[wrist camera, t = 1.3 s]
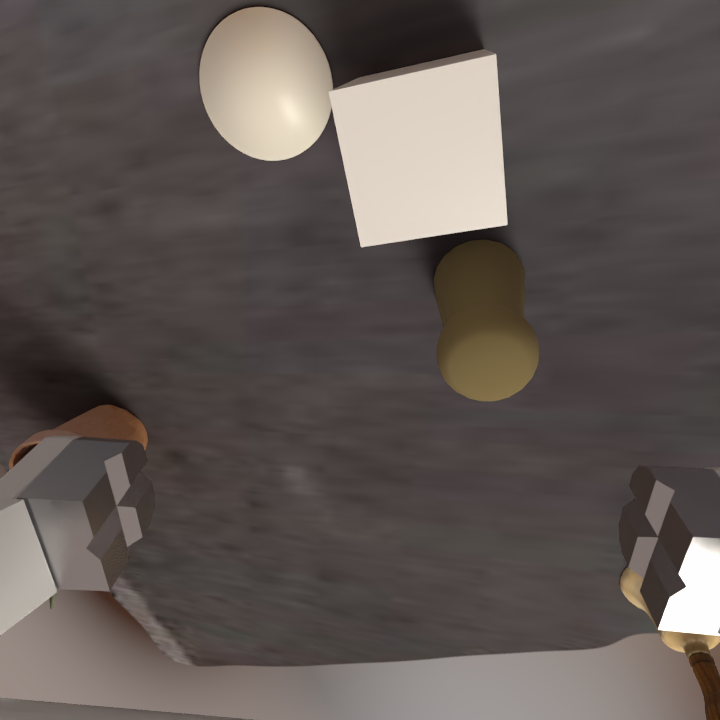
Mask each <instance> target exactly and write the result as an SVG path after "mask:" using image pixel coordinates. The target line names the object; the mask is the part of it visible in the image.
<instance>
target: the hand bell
mask: <svg viewBox="0 0 720 720" xmlns="http://www.w3.org/2000/svg"><path fill="white" fill-rule="evenodd" d="M642 582H643V578H642V577H640V576H639V575H638V574H637V573H635V572H634V571H633V570H632V569H630V568H629V567H627V568H626V569H625V570H624V571H623V573H622V576H621V579H620V587H621V590H622V592H623V594H624V595H625V597H626V598H627V599H628V600H629V601H630V602H631V603H633V604H634V605H635V606H637V607H638V608H640V609H642V610H644V611H646V613H647V614H648V615H649V616H650V618H651V619H652V621H653V623H654V624H655V622H654V620H653V618H652V616H651V614H650V612H649V610H648V607H647V605H646V603H645V601H644V599H643V597H642V595H641V593H640V589H641V586H642ZM655 626H656V624H655ZM656 628H657V626H656ZM657 630H658V628H657ZM658 632H659V634H660V636H661V638H662V640H663V642H664V643H665V644H666V645H667V646H669V647H670V648H672V649H674V650H677V651H680V652H685V653H686V655H687V658H688V659H689V662H690V665H691V666H692V668H693V671H694V673H695V676H696V678H697V680H698V682H699V684H700V687H701V690H702V692H703V696H704V701H705V713H706V719H707V720H720V676H719V673H718V670H717V668H716V666H715V662H714V659H713V658H712V657H711V654H710V651H709V649H712V648H713V647H715V646H716V645H717V644H718V643H719V642H720V639H719V637H720V636H719V635H709V634H699V633H688V632H678V631H668V630H658Z"/></svg>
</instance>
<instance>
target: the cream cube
mask: <svg viewBox="0 0 720 720" xmlns="http://www.w3.org/2000/svg"><path fill="white" fill-rule="evenodd" d="M329 96H330V101H331V106H332V111H333V116H334V120H335V125H336V130H337V135H338V139H339V144H340V149H341V154H342V159H343V163H344V168H345V173H346V178H347V182H348V187H349V192H350V197H351V202H352V206H353V211H354V216H355V221H356V225H357V230H358V235H359V240H360V245H361V247H366V246H373V245H379V244H386V243H392V242H399V241H406V240H412V239H419V238H425V237H432V236H439V235H445V234H452V233H458V232H465V231H472V230H478V229H485V228H491V227H498V226H504V225H507V210H506V195H505V180H504V164H503V149H502V134H501V119H500V104H499V89H498V74H497V59H496V54H495V53H492V52H490V51H488V50H485V49H482V50H478V51H474V52H469V53H465V54H460V55H456V56H452V57H447V58H443V59H438V60H434V61H430V62H425V63H421V64H416V65H412V66H407V67H403V68H399V69H394V70H390V71H385V72H381V73H377V74H372V75H368V76H363V77H359V78H357V79H354V80H352V81H350V82H348V83H346V84H344V85H342V86H339V87H337V88H335V89H333V90H331V91H329Z"/></svg>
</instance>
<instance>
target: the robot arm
mask: <svg viewBox="0 0 720 720" xmlns="http://www.w3.org/2000/svg"><path fill="white" fill-rule="evenodd" d="M146 463H147V457H146V454H145V450H144V446H143V445H142V444H141V443H139V442H138V441H137V440H123V439H109V438H95V437H77V436H60V435H53V436H49V437H45V438H44V439H43V440H42V441H41V442H40V443H39V444H38V445H36V446H35V447H34V448H33V449H32V450H31V451H30V452H29V453H28V454H27V455H26V456H25V457H24V458H23V459H21V460H20V461H19V462H18V463H17V464H16V465H15V466H14V467H13V468H12V469H11V470H10V471H9V472H8V473H7V474H5V475H4V476H3V477H2V478H1V479H0V635H1V634H3V633H4V632H5V631H7V630H8V629H9V628H11V627H12V626H13V625H15V624H16V623H17V622H18V621H20V620H21V619H22V618H24V617H25V616H26V615H28V614H29V613H30V612H32V611H33V610H34V609H35V608H37V607H38V606H39V605H41V604H42V603H43V602H45V601H46V600H47V599H49V598H50V597H51V596H53V595H54V594H55V593H57V589H69V590H70V589H71V590H95V591H110V590H111V588H112V587H113V585H114V583H115V582H116V580H117V578H118V577H119V575H120V573H121V572H122V570H123V568H124V567H125V565H126V564H127V562H128V560H129V559H130V556H129V552H128V548H127V547H128V546H129V545H131V544H132V543H134V542H135V541H137V540H138V539H140V538H142V537H143V535H144V533H145V532H146V530H147V528H148V526H149V524H150V522H151V518H152V514H153V510H154V498H155V493H154V488H153V484H152V481H151V480H150V479H149V478H148V477H147V476H146V475H145V474H144V473H143V472H142V471H141V470H142V469H143V467H144V466H145V464H146ZM629 486H630V488H631V490H632V492H633V494H634V495H635V498H634V499H633V500H632V501H630V502H629V503H628V504H627V505H625V506H624V507H623V509H622V513H621V517H620V521H619V541H620V545H621V549H622V553H623V556H624V558H625V560H626V563H627V565H628V567H629V568H630V569H632V570H633V571H634V572H635V573H637V574H638V575H639V576H640V577H642V578H643V582H642V586H641V589H640V593H641V595H642V597H643V599H644V601H645V603H646V605H647V607H648V610H649V612H650V614H651V616H652V618H653V620H654V622H655V624H656V626H657V628H658V630H668V631H678V632H688V633H699V634H709V635H719V636H720V468H712V467H706V468H684V467H661V466H638V467H637V469H636V470H635V471H634V473H633V475H632V478H631V482H630V485H629ZM719 639H720V637H719ZM0 720H250V719H239V718H227V717H217V716H205V715H194V714H182V713H171V712H159V711H148V710H136V709H123V708H113V707H101V706H89V705H78V704H67V703H54V702H43V701H32V700H20V699H8V698H0Z"/></svg>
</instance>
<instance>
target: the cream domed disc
mask: <svg viewBox="0 0 720 720" xmlns="http://www.w3.org/2000/svg"><path fill="white" fill-rule="evenodd" d="M199 80H200V90H201V95H202V99H203V103H204V106H205V108H206V111H207V113H208V115H209V117H210V119H211V121H212V123H213V124H214V126H215V127H216V129H217V130H218V132H219V133H220V134H221V135H222V137H223V138H224V139H226V140H227V141H228V142H229V143H230V144H231V145H232V146H233V147H235V148H236V149H238V150H239V151H241V152H243V153H244V154H247V155H249V156H251V157H254V158H257V159H261V160H267V161H278V160H285V159H288V158H292V157H294V156H296V155H299V154H300V153H302V152H303V151H305V150H306V149H308V148H309V147H310V146H311V145H312V144H313V143H314V142H315V141H316V140H317V139H318V138H319V136H320V135H321V133H322V132H323V130H324V128H325V126H326V124H327V122H328V119H329V116H330V113H331V108H332V106H331V101H330V96H329V91H331V90H333V81H332V74H331V70H330V66H329V63H328V60H327V58H326V55H325V53H324V51H323V49H322V47H321V45H320V44H319V42H318V41H317V39H316V38H315V36H314V35H313V34H312V33H311V32H310V31H309V29H308V28H307V27H306V26H304V25H303V24H302V23H301V22H300V21H298V20H297V19H295V18H294V17H292V16H291V15H289V14H287V13H285V12H283V11H280V10H276V9H273V8H266V7H251V8H246V9H242V10H239V11H237V12H235V13H233V14H231V15H229V16H228V17H226V18H225V19H224V20H223V21H221V22H220V23H219V24H218V25H217V27H216V28H215V29H214V30H213V32H212V33H211V35H210V36H209V38H208V40H207V42H206V44H205V47H204V50H203V53H202V57H201V62H200V71H199Z"/></svg>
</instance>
